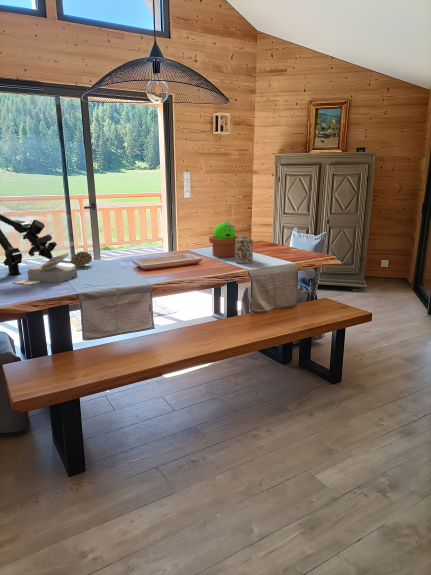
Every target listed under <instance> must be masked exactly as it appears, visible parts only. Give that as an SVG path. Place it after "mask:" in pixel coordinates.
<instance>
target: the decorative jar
mask: <svg viewBox="0 0 431 575" xmlns="http://www.w3.org/2000/svg"><path fill="white" fill-rule="evenodd" d="M239 237H240V238H236V240H235V256H234V262H235V264H253V262H254V261H253V258H254V257H253V256H254V255H253V254H254V247H253V246H254V242H253V238H252V237H249V236H248V235H247V234H243V235H241V234H240V236H239Z"/></svg>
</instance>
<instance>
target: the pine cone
mask: <svg viewBox="0 0 431 575" xmlns="http://www.w3.org/2000/svg"><path fill="white" fill-rule="evenodd" d="M92 261H93V256H92V255H91V254H90V253H88V251H79V252H77V253H74V254H73V255H72V256H71V259H70V260H69V261H68V260H62V261H61V262H60V263H62V264H63V263H64V264H71V265H73V266H74V267H75V266H76V267H75V268H77V267H83V266H86V265H89V264H90V263H91V262H92Z"/></svg>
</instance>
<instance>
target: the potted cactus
mask: <svg viewBox="0 0 431 575" xmlns="http://www.w3.org/2000/svg"><path fill="white" fill-rule="evenodd" d="M208 237H209V240H208V241H209V244H212V256H214V257H216V258H232V257H235V240H236V238H240V237H241V236H239V235H236V230H235V227H234V226H233V225H232V224H231V223H230V221H223V222H219V223H218V224H217V225H216V226H215V227H214V230H213V235H210V236H208Z"/></svg>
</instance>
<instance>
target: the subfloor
mask: <svg viewBox="0 0 431 575" xmlns="http://www.w3.org/2000/svg"><path fill="white" fill-rule="evenodd" d="M44 264H45V263H43V264H39V265H36V266H35V265H34V266H32V267H30V268H28V269H27V278H28V279H27V280H34V281H41V282H48V283H62V282H66V281H68V280H71V279H73V278H75V276H76V277H78V270H77V267H75V266H74V267H71V266H69V267H68V266H62V265H61V266H60V265H59V266H58V265H56V266H54V267H50V268H47V269H44V270H41V271H39V270H38V269H39V268H40V267H41V266H43V265H44ZM72 277H73V278H72ZM70 278H71V279H70Z"/></svg>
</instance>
